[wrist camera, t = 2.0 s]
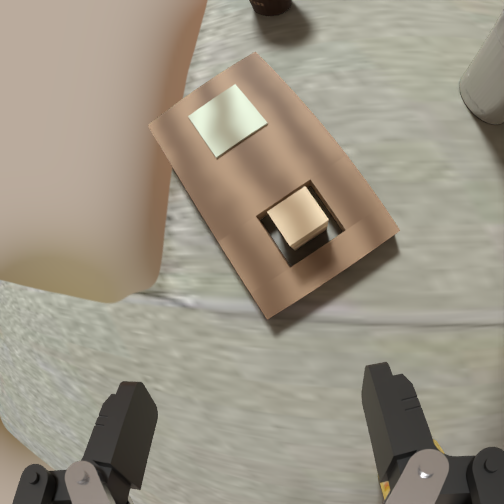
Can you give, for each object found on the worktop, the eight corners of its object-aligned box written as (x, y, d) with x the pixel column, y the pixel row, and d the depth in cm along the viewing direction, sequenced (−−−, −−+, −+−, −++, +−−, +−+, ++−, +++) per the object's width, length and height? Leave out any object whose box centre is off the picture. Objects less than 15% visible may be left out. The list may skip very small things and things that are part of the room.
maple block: (307, 202, 39) (305, 186, 31) (326, 229, 38) (328, 219, 30) (277, 223, 39) (267, 211, 31) (295, 250, 39) (289, 245, 31)
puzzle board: (259, 63, 41) (255, 50, 38) (394, 233, 36) (400, 230, 33) (157, 133, 43) (146, 124, 40) (271, 315, 39) (266, 320, 36)
